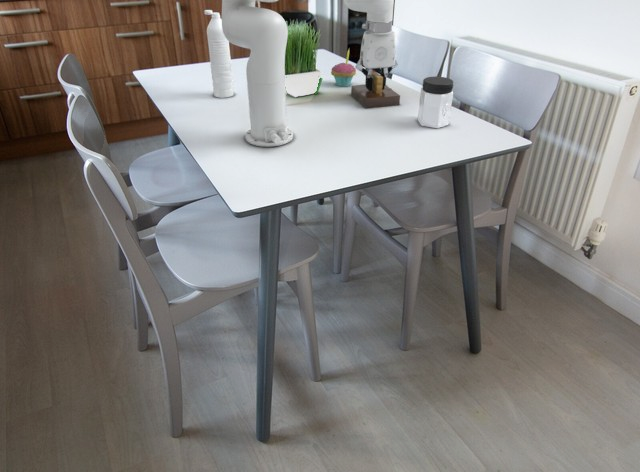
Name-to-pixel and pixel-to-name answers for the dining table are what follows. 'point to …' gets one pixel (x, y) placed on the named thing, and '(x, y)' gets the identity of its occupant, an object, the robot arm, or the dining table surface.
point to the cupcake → (343, 72)
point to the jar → (435, 102)
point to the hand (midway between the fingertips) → (375, 88)
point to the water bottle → (219, 57)
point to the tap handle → (377, 82)
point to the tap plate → (375, 97)
